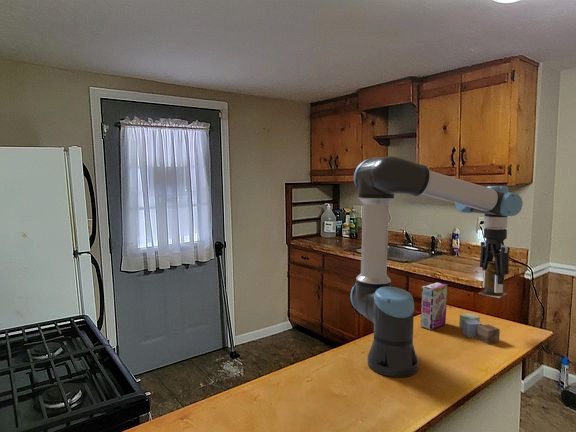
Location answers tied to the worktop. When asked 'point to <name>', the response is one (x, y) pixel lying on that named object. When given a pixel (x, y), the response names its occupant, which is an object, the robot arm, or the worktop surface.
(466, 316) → the sage block
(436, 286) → the candy bar box
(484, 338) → the walnut block
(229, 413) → the worktop surface
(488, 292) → the condiment
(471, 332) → the slate block
